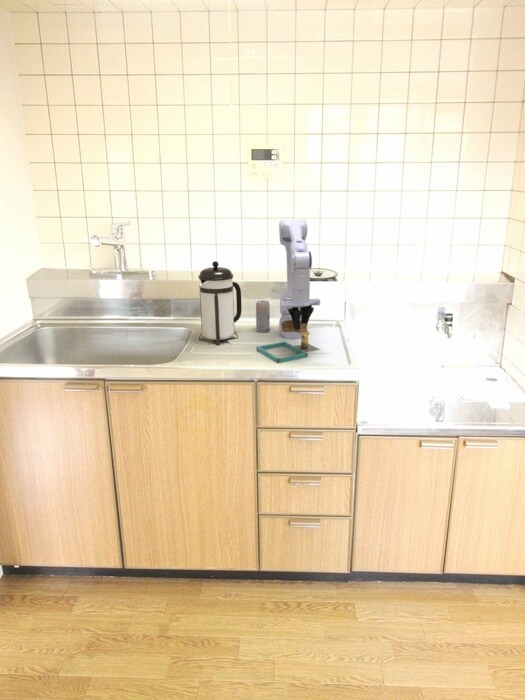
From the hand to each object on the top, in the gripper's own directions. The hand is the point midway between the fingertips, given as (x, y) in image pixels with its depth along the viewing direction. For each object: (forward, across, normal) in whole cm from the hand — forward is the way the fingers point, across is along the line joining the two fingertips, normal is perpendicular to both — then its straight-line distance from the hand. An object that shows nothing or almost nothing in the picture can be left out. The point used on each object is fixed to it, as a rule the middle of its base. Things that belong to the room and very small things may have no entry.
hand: (300, 328), depth 174 cm
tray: (+10, -5, +4) cm, 12 cm away
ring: (+2, 0, +3) cm, 4 cm away
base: (+10, +5, +5) cm, 13 cm away
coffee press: (+11, -14, +34) cm, 39 cm away
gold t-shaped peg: (+10, +5, +5) cm, 13 cm away
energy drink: (+11, +4, +34) cm, 36 cm away
